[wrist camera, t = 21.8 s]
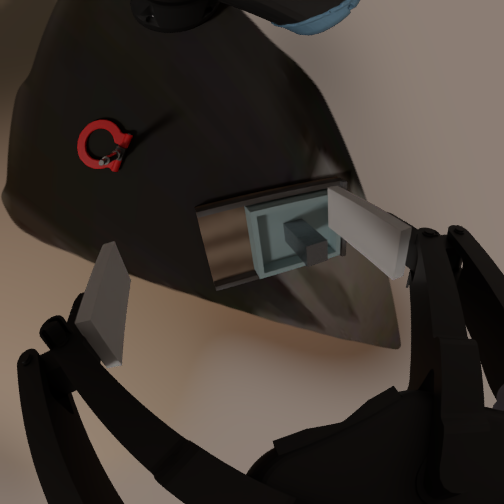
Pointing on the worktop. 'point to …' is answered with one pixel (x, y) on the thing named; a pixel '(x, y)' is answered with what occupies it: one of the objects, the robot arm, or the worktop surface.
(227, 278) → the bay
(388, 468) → the robot arm
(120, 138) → the tow hook
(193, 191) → the worktop surface
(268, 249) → the crate
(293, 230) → the dark grey block
